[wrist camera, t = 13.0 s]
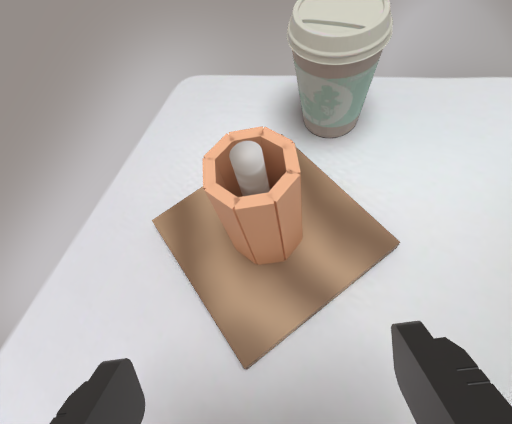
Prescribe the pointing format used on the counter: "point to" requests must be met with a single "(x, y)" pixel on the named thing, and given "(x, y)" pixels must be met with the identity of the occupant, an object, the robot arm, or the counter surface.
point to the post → (280, 273)
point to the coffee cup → (336, 58)
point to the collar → (258, 197)
